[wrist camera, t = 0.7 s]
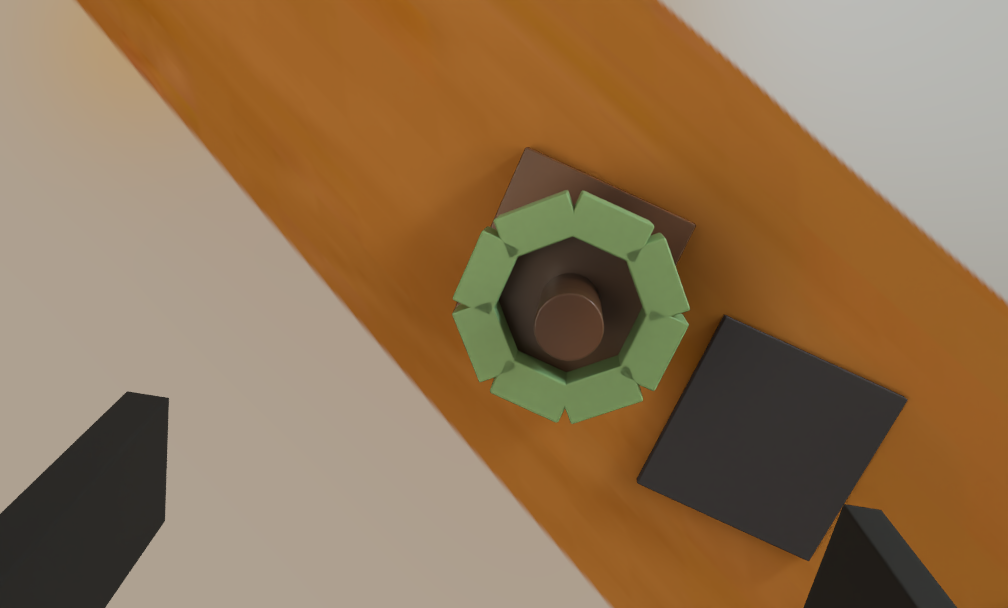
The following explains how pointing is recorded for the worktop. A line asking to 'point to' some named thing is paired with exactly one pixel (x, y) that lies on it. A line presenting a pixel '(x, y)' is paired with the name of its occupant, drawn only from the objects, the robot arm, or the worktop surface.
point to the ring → (596, 382)
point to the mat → (769, 438)
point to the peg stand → (575, 273)
